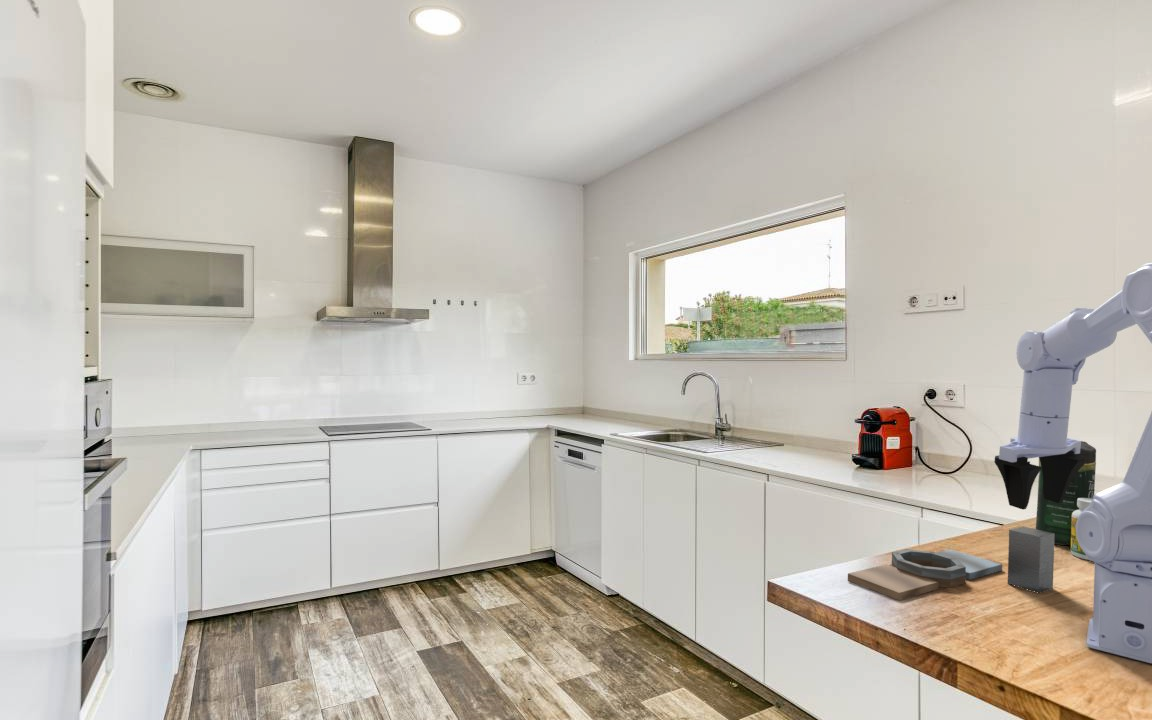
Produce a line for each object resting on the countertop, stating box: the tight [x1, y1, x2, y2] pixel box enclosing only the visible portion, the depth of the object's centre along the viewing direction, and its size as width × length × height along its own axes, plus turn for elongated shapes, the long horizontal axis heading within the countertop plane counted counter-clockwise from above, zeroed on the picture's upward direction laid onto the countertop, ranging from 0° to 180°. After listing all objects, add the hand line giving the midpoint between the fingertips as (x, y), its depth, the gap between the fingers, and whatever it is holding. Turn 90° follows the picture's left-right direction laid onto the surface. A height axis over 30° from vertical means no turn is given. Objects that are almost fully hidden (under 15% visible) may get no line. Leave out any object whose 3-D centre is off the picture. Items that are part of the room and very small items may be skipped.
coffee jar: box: [1035, 440, 1097, 546], centre depth 112 cm, size 10×8×19 cm
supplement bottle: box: [1070, 498, 1092, 562], centre depth 103 cm, size 5×5×10 cm
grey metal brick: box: [1007, 526, 1055, 594], centre depth 89 cm, size 4×4×8 cm
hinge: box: [847, 548, 1003, 601], centre depth 93 cm, size 26×9×2 cm, turn 119°
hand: (1035, 504), depth 91 cm, fingers open, 7 cm apart
